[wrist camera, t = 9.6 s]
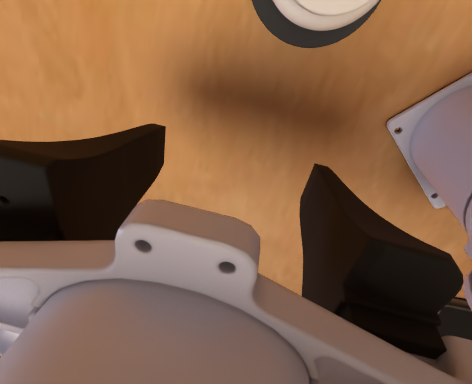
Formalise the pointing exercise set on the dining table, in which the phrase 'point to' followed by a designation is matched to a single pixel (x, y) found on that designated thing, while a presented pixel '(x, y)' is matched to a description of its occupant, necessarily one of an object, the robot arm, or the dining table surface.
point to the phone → (456, 319)
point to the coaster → (299, 34)
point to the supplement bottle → (324, 12)
